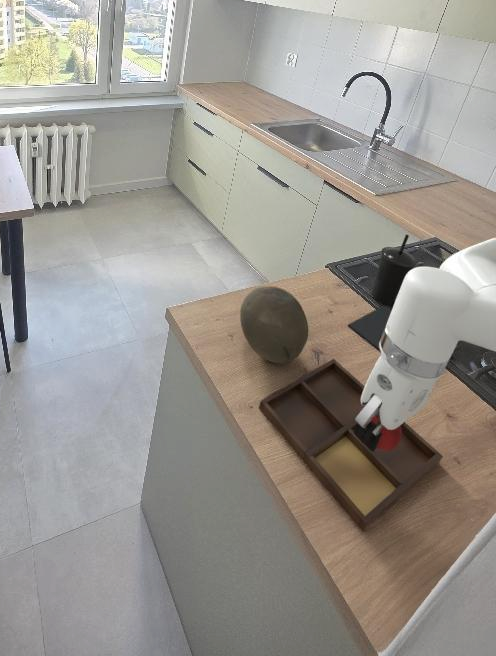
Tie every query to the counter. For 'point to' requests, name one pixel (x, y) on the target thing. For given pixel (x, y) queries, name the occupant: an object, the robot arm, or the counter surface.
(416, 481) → the tray
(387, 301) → the drinking cup
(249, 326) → the grey-brown oval ball
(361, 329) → the mat
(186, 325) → the counter surface
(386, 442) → the onion
